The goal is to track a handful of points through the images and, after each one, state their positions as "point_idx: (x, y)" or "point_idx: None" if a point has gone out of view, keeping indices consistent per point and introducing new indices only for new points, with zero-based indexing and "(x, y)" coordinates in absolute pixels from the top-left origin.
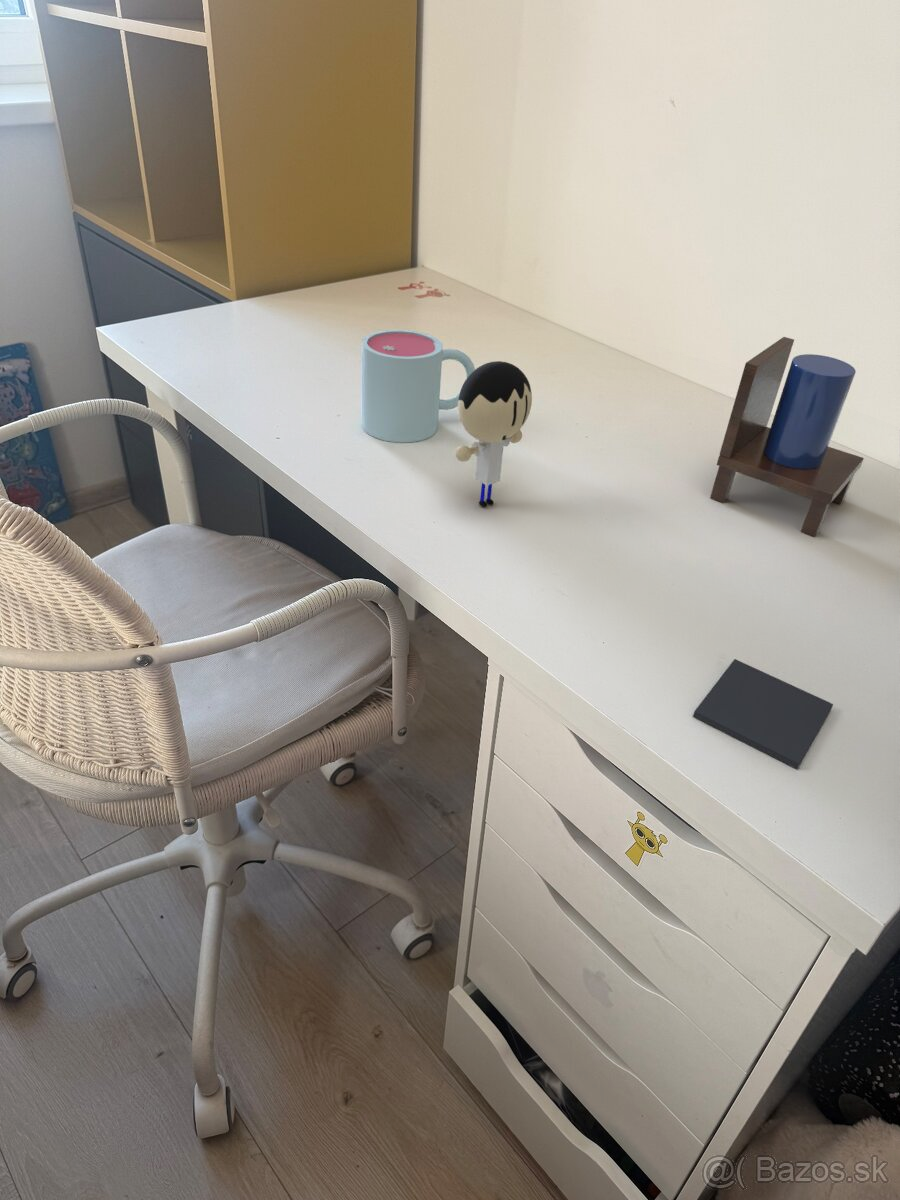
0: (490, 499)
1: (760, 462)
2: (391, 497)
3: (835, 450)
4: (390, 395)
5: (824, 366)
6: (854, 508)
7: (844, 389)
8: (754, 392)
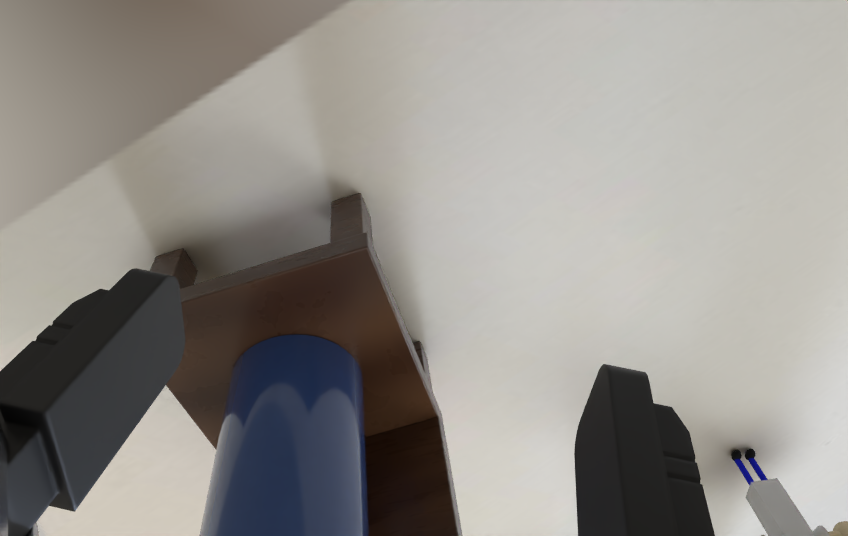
0: (738, 458)
1: (392, 388)
2: (809, 495)
3: None
4: None
5: None
6: (160, 225)
7: (279, 507)
8: None
